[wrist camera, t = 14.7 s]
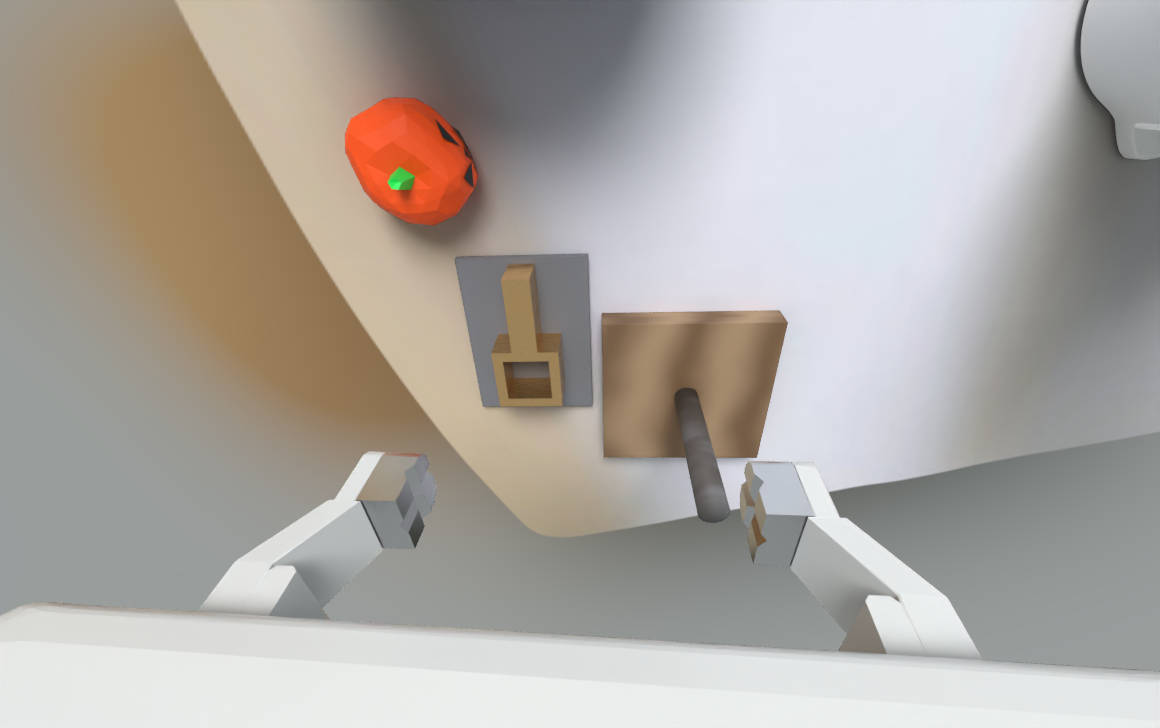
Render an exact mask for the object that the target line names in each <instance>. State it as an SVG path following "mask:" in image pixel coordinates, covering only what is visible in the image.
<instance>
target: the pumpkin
mask: <svg viewBox="0 0 1160 728" xmlns="http://www.w3.org/2000/svg"><path fill="white" fill-rule="evenodd" d="M467 149H468V147H467V145H466V143H465V142H464V140H463V138H462V136H461V135H460V133H459V131H457V130H456V129H455V128H453V127H452V126H451V125H450V124H449V123H448V122H447V121H446V120H445V119H444V118H443V117H442V116H441V115H440V114H438V113H437V112H436V111H435V110H434V109H432V108H431V107H430V106H428V105H426V104H424V103H422V102H421V101H419V100H417V99H412V98H398V97H395V98H388V99H383V100H381V101H380V102H378V103H377V104H375V105H373V106H372V107H370V108H369V109H367V110H365V111H364V112H362V113H360V114H358V115H357V116H355V117H353V118H351V120H350V123H349V125H348V128H347V130H346V133H345V151H346V154H347V156H348V159H349V161H350V163H351V165H352V167H353V169H354V171H355V173H356V175H357V177H358V179H359V181H360V183H361V185H362V187H363V189H364V191H365V192H366V193H367V195H368V196H369V197H370V198H371V199H372V200H373V201H374V202H375V203H376V204H377V205H378V206H380V207H381V208H383V209H384V210H386V211H387V212H389V213H391V214H393V215H394V216H396V217H398V218H400V219H402V220H404V221H405V222H407V223H413V224H425V225H436V224H438V223H440V222H442V221H444V220H446V219H448V218H450V217H453V216H455V215H457V214H458V212H459V211H460V210H461V208H462V207H463V206H464V204H465V203H466V201H467V200H468V198H469V197H470V195H471V193H472V192H473V190H474V188H475V185H476V182H477V178H478V173H477V170H476V168H475V166H476V165H475V166H474V164H475V163H473V161H474V160H473V161H472V159H473V158H472V159H471V157H472V155H471V153H470V154H469V152H470V151H469V149H468V150H467ZM468 151H469V152H468ZM470 155H471V156H470Z"/></svg>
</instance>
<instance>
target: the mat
mask: <svg viewBox="0 0 1160 728" xmlns="http://www.w3.org/2000/svg"><path fill="white" fill-rule="evenodd" d="M455 264H456V269H457V274H458V279H459V284H460V290H461V295H462V300H463V305H464V310H465V316H466V321H467V326H468V331H469V336H470V341H471V347H472V352H473V357H474V362H475V367H476V373H477V378H478V383H479V388H480V393H481V398H482V404H483V406H500V402H499V396H498V391H497V385H496V379H495V373H494V368H493V362H492V356H491V352H492V350H493V347H494V344H495V342H496V339H497V336H498V334H509V332H508V326H507V319H506V312H505V305H504V298H503V292H502V285H501V279H502V277H503V274H504V272H505V270H506V268H507V266H508V264H535V273H536V283H537V292H538V302H539V312H540V322H541V331H542V333H561V337H562V350H563V363H564V376H565V390H564V399H563V406H592V371H591V339H590V307H589V275H588V254H556V255H512V256H468V257H456V259H455ZM512 365H513V372H514V378H545V377H550V371H549V361H536V362H512Z"/></svg>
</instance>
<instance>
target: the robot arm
mask: <svg viewBox="0 0 1160 728" xmlns="http://www.w3.org/2000/svg"><path fill="white" fill-rule="evenodd" d="M1081 61H1082V67H1083V72H1084V75H1085V78H1086V81H1087V83H1088V85H1089V87H1090V89H1091V91H1092V93H1093V94H1094V95H1095V97H1096V98H1097V99H1098V100H1099V101H1100V102H1101V103H1102V104H1103V105H1104V106H1105V107H1106V108H1107V109H1108V110H1109V112H1110V113H1111V114H1112V116H1113V118H1114V120H1115V130H1116V140H1117V145H1118V149H1119V152H1120V153H1121V155H1122V156H1123V157H1125V158H1128V159H1142V160H1148V159H1154V158H1159V157H1160V0H1089V1H1088V5H1087V8H1086V12H1085V16H1084V21H1083V27H1082V34H1081ZM428 467H429V461H428V458H427V456H426V455H424V454H416V453H397V452H367V453H366V454H364V455H363V456H362V458H361V460H360V461H359V463H358V464H357V466H356V467H355V469H354V470H353V472H352V473H351V475H350V476H349V478H348V480H347V481H346V483H345V484H344V486H343V487H342V489H341V490H340V492H339V493H338V495H337V497H336V498H335V500H328V501H327V502H325V503H324V504H322V505H320V506H319V507H318V508H316V509H315V510H313V511H311V512H310V513H308V514H307V515H305V516H304V517H302V518H301V519H299V520H298V521H296V522H295V523H293V524H292V525H290V526H288V527H287V528H286V529H284V530H282V531H281V532H279V533H278V534H276V535H275V536H273V537H272V538H270V539H269V540H267V541H266V542H264V543H263V544H261V545H260V546H258V547H256V548H255V549H253V550H252V551H250V552H249V553H248V554H246V555H244V556H243V557H241V558H240V559H238V560H237V561H235V563H234V564H233V565H232V566H231V568H230V569H229V570H228V572H227V573H226V574H225V576H224V577H223V578H222V580H221V581H220V582H219V584H218V585H217V586H216V587H215V589H214V590H213V591H212V593H211V594H210V595H209V597H208V598H207V599H206V601H205V602H204V603H203V605H202V606H201V607H200V608H199V610H198V611H197V612H196V611H180V610H164V609H148V608H147V609H146V608H131V607H115V606H100V605H99V606H98V605H83V604H69V603H57V602H35V603H31V604H26V605H23V606H20V607H17V608H15V609H13V610H11V611H9V612H7V613H4V614H2V615H0V728H1160V671H1152V670H1136V669H1119V668H1102V667H1086V666H1069V665H1054V664H1038V663H1021V662H1004V661H988V660H983V659H982V657H981V655H980V654H979V652H978V650H977V648H976V647H975V645H974V643H973V642H972V640H971V638H970V636H969V635H968V633H967V631H966V629H965V628H964V626H963V624H962V622H961V621H960V619H959V617H958V615H957V614H956V612H955V610H954V608H953V607H952V605H951V603H950V601H949V600H948V598H947V597H946V596H944V595H943V594H942V593H941V592H939V591H938V590H937V589H936V588H934V587H933V586H932V585H931V584H929V583H928V582H927V581H926V580H924V579H923V578H922V577H920V576H919V575H918V574H917V573H915V572H914V571H913V570H912V569H910V568H909V567H908V566H907V565H905V564H904V563H903V562H901V561H900V560H899V559H898V558H896V557H895V556H894V555H893V554H891V553H890V552H889V551H887V550H886V549H885V548H884V547H882V546H881V545H880V544H879V543H877V542H876V541H875V540H874V539H872V538H871V537H870V536H869V535H867V534H866V533H865V532H863V531H862V530H861V529H860V528H858V527H857V526H856V525H855V524H853V523H852V522H851V521H850V520H848V519H847V518H840V517H839V514H838V512H837V510H836V508H835V506H834V504H833V501H832V499H831V497H830V495H829V493H828V490H827V488H826V486H825V484H824V482H823V479H822V477H821V475H820V473H819V471H818V468H817V466H816V465H815V464H814V463H813V462H758V461H748V463H747V464H746V467H745V472H744V473H745V477H746V482H745V483H744V484H742V486H741V492H740V509H741V516H742V520H743V524H745V525H746V526H747V527H748V528H749V533H748V538H747V541H748V544H749V549H750V553H751V557H752V561H753V564H759V565H773V566H787V567H791V570H792V571H793V572H794V573H795V574H796V575H797V577H798V578H799V579H800V580H801V581H802V583H803V584H804V585H805V586H806V587H807V588H808V589H809V591H810V592H811V593H812V594H813V595H814V596H815V597H816V599H817V600H818V601H819V602H820V603H821V604H822V605H823V607H824V608H825V609H826V610H827V611H828V612H829V614H830V615H831V616H832V617H833V618H834V619H835V621H837V623H838V624H839V625H840V626H841V627H842V629H843V630H844V631H845V632H846V633H847V636H846V638H845V639H844V641H843V643H842V645H841V647H840V649H839V651H827V650H810V649H795V648H777V647H762V646H746V645H730V644H713V643H697V642H681V641H664V640H649V639H648V640H647V639H632V638H616V637H599V636H583V635H566V634H551V633H550V634H549V633H534V632H517V631H501V630H485V629H468V628H452V627H437V626H421V625H405V624H403V625H402V624H388V623H372V622H356V621H340V620H330V619H329V617H328V616H327V614H326V613H325V611H324V610H323V607H324V606H325V605H326V604H327V603H328V602H329V601H330V600H331V599H332V598H333V597H334V596H335V595H337V594H338V593H339V592H340V591H341V590H342V589H343V588H344V587H345V586H346V585H347V584H348V583H349V582H350V581H351V580H352V579H353V578H354V577H355V576H356V575H357V574H359V573H360V572H361V571H362V570H363V569H364V568H365V567H366V566H367V565H368V564H369V563H370V562H371V561H372V560H373V559H374V558H375V557H376V556H377V555H379V553H381V552H382V551H383V548H397V549H415V548H416V545H417V543H418V541H419V538H420V536H421V533H422V532H423V529H424V527H425V526H424V523H423V520H422V518H424V517H425V516H426V515H427V514H429V513H430V512H431V510H432V508H433V505H434V502H435V496H436V482H435V479H434V476H433V475H432V474H431V473H429V472H428V471H427V469H428Z"/></svg>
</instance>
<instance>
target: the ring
mask: <svg viewBox="0 0 1160 728" xmlns="http://www.w3.org/2000/svg"><path fill="white" fill-rule="evenodd" d="M501 285H502V292H503V298H504V305H505V312H506V319H507V326H508V332H509V334H498V336H497V339H496V342H495V344H494V347H493V350H492V352H491V356H492V362H493V368H494V373H495V379H496V385H497V391H498V396H499V402H500V407H506V406H563V399H564V390H565V376H564V363H563V350H562V337H561V333H542V331H541V322H540V312H539V302H538V292H537V283H536V273H535V264H508V266H507V268H506V270H505V272H504V274H503V277H502V279H501ZM536 361H549V371H550V377H545V378H514V372H513V365H512V362H536Z"/></svg>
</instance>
